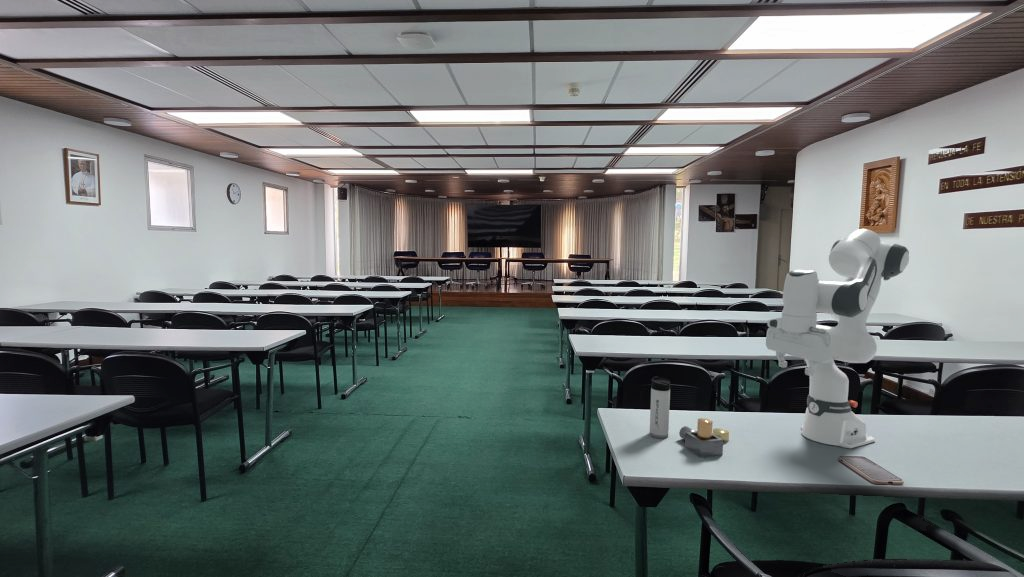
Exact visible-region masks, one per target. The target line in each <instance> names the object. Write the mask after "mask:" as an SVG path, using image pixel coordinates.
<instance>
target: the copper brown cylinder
mask: <svg viewBox="0 0 1024 577" xmlns="http://www.w3.org/2000/svg"><path fill="white" fill-rule="evenodd" d="M713 422H714V421H713V420H711V419H710V418H709V419H708V418H702V417H700V418H697V426H696V431H697V438H699V439H701V440H711V439H712V433H713V425H714V424H713Z"/></svg>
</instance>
